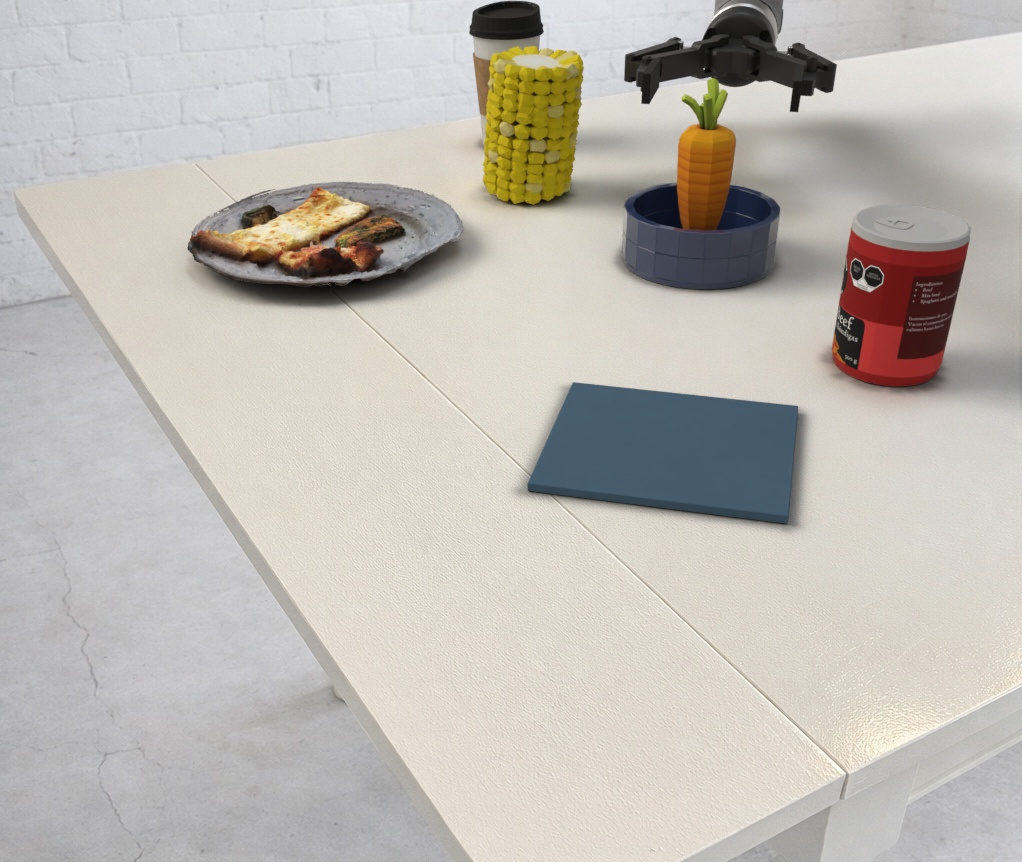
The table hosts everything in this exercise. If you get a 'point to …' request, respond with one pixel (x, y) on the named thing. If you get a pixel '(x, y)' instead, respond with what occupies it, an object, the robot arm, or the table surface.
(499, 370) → the table surface
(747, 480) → the blue rectangular board
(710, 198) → the carrot
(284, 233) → the food plate
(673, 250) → the pot
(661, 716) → the table surface
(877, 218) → the canned food
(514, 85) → the food
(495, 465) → the table surface
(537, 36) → the coffee cup
